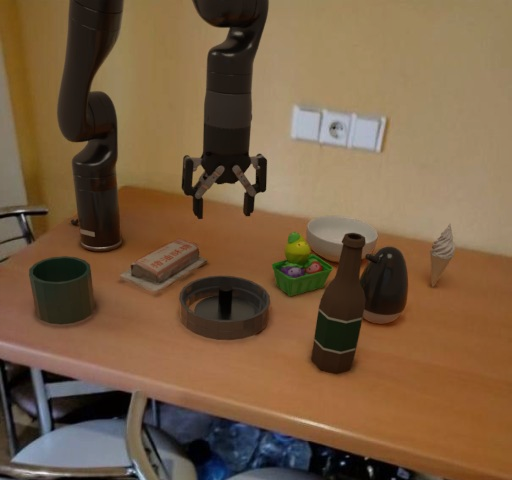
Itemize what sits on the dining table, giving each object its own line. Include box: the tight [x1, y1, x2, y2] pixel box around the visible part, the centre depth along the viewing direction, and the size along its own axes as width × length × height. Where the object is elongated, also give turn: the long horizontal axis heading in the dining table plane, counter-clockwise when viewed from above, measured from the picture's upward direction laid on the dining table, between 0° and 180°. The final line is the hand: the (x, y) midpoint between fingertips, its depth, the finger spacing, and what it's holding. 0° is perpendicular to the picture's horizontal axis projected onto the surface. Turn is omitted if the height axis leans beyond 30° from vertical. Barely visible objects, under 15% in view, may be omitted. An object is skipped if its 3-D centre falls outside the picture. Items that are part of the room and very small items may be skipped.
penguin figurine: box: [360, 245, 409, 325], centre depth 109 cm, size 10×10×15 cm
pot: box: [28, 255, 96, 326], centre depth 105 cm, size 11×11×9 cm
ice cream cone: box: [429, 223, 456, 288], centre depth 121 cm, size 5×5×15 cm
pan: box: [178, 275, 271, 341], centre depth 108 cm, size 17×17×4 cm
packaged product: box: [119, 238, 208, 295], centre depth 121 cm, size 18×5×10 cm
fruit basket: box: [271, 231, 334, 297], centre depth 118 cm, size 11×9×11 cm
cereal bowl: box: [305, 215, 379, 264], centre depth 133 cm, size 17×17×7 cm
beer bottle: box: [311, 233, 366, 375], centre depth 93 cm, size 8×8×24 cm
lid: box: [194, 284, 255, 320], centre depth 107 cm, size 12×12×6 cm
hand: (223, 216), depth 98 cm, fingers open, 8 cm apart
